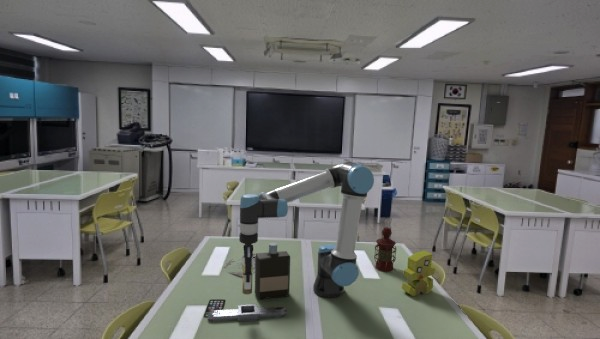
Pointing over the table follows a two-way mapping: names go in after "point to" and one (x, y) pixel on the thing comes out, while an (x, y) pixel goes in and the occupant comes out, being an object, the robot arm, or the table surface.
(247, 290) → the pin
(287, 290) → the bottle
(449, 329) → the table surface
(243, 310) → the grey metal bar device
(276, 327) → the table surface
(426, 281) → the toy
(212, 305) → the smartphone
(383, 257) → the lantern
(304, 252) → the table surface
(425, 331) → the table surface
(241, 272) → the stone slab
